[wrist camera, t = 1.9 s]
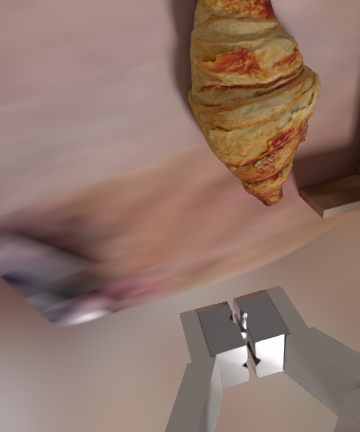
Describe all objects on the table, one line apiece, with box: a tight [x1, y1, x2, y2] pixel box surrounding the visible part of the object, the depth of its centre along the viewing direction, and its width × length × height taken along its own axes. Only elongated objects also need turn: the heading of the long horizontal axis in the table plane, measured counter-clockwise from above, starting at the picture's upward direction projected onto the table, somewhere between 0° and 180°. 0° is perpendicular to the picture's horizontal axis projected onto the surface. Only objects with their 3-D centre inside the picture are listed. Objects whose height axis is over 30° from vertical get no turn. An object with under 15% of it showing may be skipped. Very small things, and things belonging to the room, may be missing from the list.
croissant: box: [188, 0, 320, 206], centre depth 26 cm, size 21×10×8 cm, turn 19°
